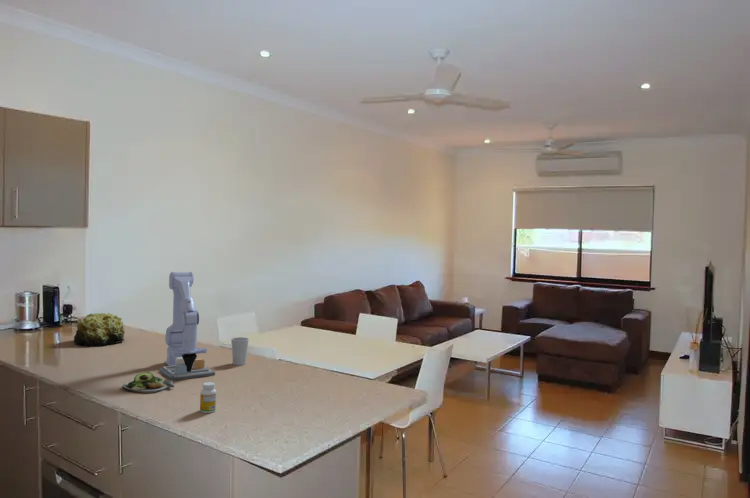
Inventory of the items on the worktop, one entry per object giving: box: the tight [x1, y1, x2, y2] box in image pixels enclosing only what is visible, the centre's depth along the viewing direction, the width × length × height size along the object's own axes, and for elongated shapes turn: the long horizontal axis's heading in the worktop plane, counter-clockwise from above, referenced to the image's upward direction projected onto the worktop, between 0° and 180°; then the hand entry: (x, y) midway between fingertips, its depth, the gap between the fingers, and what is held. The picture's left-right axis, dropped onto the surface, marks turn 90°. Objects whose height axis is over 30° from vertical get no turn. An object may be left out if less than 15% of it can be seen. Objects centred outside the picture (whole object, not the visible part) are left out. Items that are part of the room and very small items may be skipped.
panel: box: [158, 365, 216, 382], centre depth 246 cm, size 18×19×2 cm
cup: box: [231, 336, 250, 366], centre depth 267 cm, size 8×8×12 cm
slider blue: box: [175, 364, 187, 375], centre depth 238 cm, size 3×4×5 cm
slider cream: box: [175, 357, 185, 366], centre depth 249 cm, size 3×4×5 cm
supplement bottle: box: [199, 381, 217, 414], centre depth 197 cm, size 5×5×10 cm
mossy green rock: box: [73, 312, 126, 348], centre depth 301 cm, size 25×24×16 cm
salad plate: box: [121, 371, 175, 394], centre depth 223 cm, size 19×18×5 cm
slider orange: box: [193, 357, 206, 369], centre depth 248 cm, size 3×4×5 cm
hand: (188, 371), depth 240 cm, fingers closed
